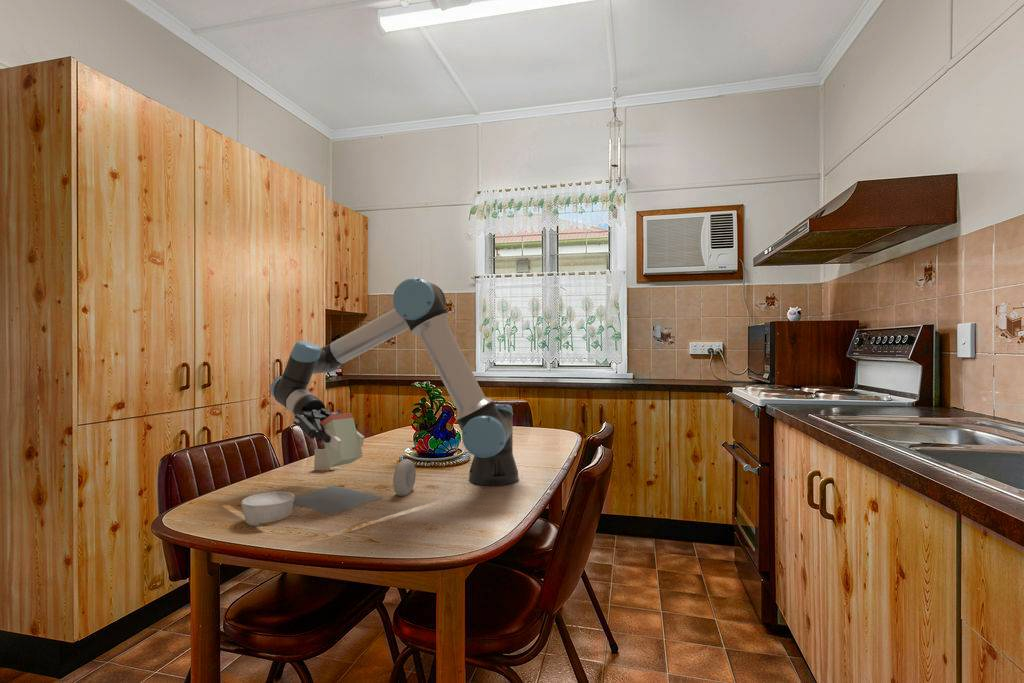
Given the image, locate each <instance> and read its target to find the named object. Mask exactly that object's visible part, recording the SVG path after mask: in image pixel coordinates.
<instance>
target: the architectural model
mask: <svg viewBox="0 0 1024 683" xmlns="http://www.w3.org/2000/svg"><path fill="white" fill-rule="evenodd" d="M313 462H314V463H313V465H314V468H313V469H314V471H315V470H330V471H331V467H330V465H329V461H328V456H327V452H326V448H324V449H323V448H321V449H320V448H314V459H313Z"/></svg>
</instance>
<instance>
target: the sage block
mask: <svg viewBox="0 0 1024 683" xmlns="http://www.w3.org/2000/svg"><path fill="white" fill-rule="evenodd" d="M354 421H355V418H354V416H353V412H342V413H341V414H332V415H330V416H328V417H327V418H326V419H324V420H323V421H321V422H320V424H321V425H322V426H323V428H324V432H325V430H326V429H328V430H329V431H330V432H332V433H333V434H334V435H335V436H336V437H338V438H339V439H340V440H341V444H340V449H339V450H338V451H336V450H335V449H334V448H333V447H331V446H330V445H329V444H328V443H326V442H324V441H323V443H324V446H325V447H324V449H326V452H327V456H328V461H329V465H330V468H334V467H339V466H343V465H344V466H345V465H349V464H352V463H353V462H356V461H357V460H359V459H361V458H363V457H364V454H363V451H362V446H360V442H359V439H358V435H357V431H358V430H357V431H356V427H355V423H354Z"/></svg>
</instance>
